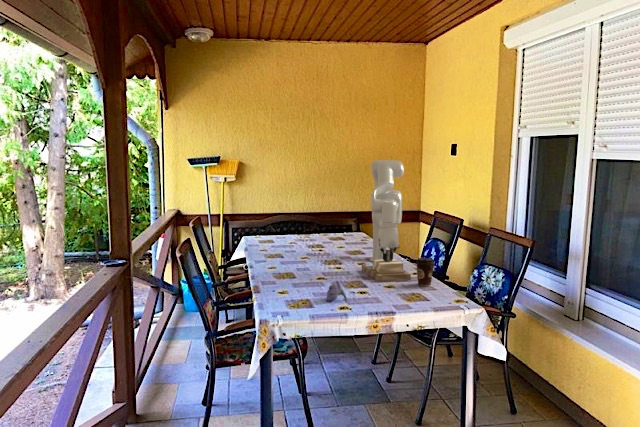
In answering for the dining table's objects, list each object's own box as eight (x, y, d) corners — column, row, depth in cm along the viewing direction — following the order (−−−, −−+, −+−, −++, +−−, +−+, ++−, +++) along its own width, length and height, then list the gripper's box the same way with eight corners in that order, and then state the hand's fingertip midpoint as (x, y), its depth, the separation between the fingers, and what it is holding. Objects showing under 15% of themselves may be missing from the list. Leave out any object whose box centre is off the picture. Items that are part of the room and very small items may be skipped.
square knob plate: (372, 272, 257) (372, 248, 255) (393, 271, 260) (394, 247, 258) (380, 278, 245) (381, 252, 244) (402, 276, 248) (403, 251, 247)
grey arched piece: (350, 282, 213) (330, 274, 210) (352, 295, 206) (332, 286, 203) (339, 297, 217) (320, 289, 214) (341, 310, 209) (321, 302, 207)
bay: (361, 270, 266) (361, 264, 266) (390, 269, 270) (390, 263, 270) (378, 282, 241) (378, 275, 240) (410, 280, 245) (410, 274, 245)
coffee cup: (419, 287, 231) (420, 261, 229) (412, 283, 239) (412, 257, 237) (436, 286, 233) (437, 260, 232) (428, 282, 241) (429, 256, 240)
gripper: (400, 223, 255) (399, 258, 257) (371, 224, 251) (370, 259, 253) (406, 225, 248) (405, 261, 250) (376, 226, 244) (375, 262, 246)
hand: (387, 260), depth 251 cm, fingers closed on square knob plate, 2 cm apart
